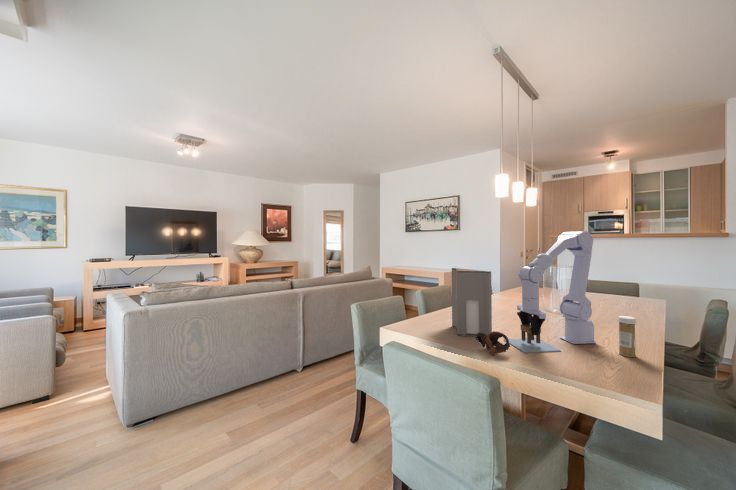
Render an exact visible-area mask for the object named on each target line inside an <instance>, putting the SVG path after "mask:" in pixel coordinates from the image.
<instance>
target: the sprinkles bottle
mask: <svg viewBox="0 0 736 490" xmlns="http://www.w3.org/2000/svg"><path fill="white" fill-rule="evenodd" d="M636 320H637V319H636V318H635V317H634V316H629V315H628V316H627V315H619V316H618V320H617V321H618V345H619V347H618V349H619V351H618V352H619V355H621V356H623V357H627V358H636V356H637V354H636V346H637V345H636V322H637V321H636Z"/></svg>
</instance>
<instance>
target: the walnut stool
mask: <svg viewBox="0 0 736 490" xmlns="http://www.w3.org/2000/svg"><path fill="white" fill-rule="evenodd" d="M520 331H521V339H522V340H523V341H526V338H527V343H528V344H531V340H534V338H536V343H540V340H541V333H542V328H540V331H539V335H532V330H531V323H530V324H525V325H522V324H520Z"/></svg>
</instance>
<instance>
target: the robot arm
mask: <svg viewBox="0 0 736 490" xmlns="http://www.w3.org/2000/svg"><path fill="white" fill-rule="evenodd" d="M593 244H594V237H593V236H592V234H591V232H589V231H588V230H583V231H564V232H562V233H561V234H560V235H558V237H557V241H555V243H554V244H553V245H552V246H551V247H550V248H549V249H548V250H547V251H546V252H545V253H539V254H537V255H536V257H535V258H534V259H533V260H532V261H531V262H529V263H528V265H527V266H523V267H521V268H520V269H519V273H518V278H519V279H520V284H521V290H522V291H521V299H522V300H521V302H522V304H517V305H516V308H517V309H516V310H517V311H518V312H516V315H517V316H518V317H519V320H520V323H521V325H525V324H531V330H532V335H534V336H536V335H539V331H540V328H541V327H542V325H543V324H544V322H545V321H546V317H547V315H546V314H547V313H546V312H544V311H542V310H541V309H540V282H541V281H542V280H543V277H544V274H545V273H546V272H547V270H548V269H550V267H552V265H554V259H555V258H557V257H558V256H559V255H561V254H562V253H563V252H564V251H566V250H568V251H569V252H570V253H572V255H573V256H574V258H573V264H572V269H571V270H572V271H571V278H570V284H569V292H568V293H567V294H566V295H564V296H563V297H562V300H561V302H560V305H559V312H560V313H561V315H562V317H563V318H564V336H559V338H560V339H562V340H564V341H566V342H568V343H570V344H573V345H580V344H581V345H582V344H583V345H584V344H586V345H587V344H596V343H597V341H595V325H594V323H593V321H592V320H591V319H590V318H591V317H592V314H593V310H592V301H590V299H589V298H588V297H586V292H587V286H588V281H589V280H588V279H589V273H590V267H591V260H592V254H593V253H592V252H593ZM541 329H542V328H541Z"/></svg>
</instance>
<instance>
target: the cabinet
mask: <svg viewBox="0 0 736 490" xmlns="http://www.w3.org/2000/svg"><path fill="white" fill-rule="evenodd" d="M492 303H493V302H492V270H491V271H490V270H479V269H468V268H459V267H451V327H452V328H454V329H456V334H457V335H456V336H457V337H458V336H459V337H461V336H462V337H475V338H476V336H477V334H478V333H484V334H486V335H488V334H489V333H490V332H493V330H492V329H493V326H492V325H493V323H492V318H493V317H492V316H493V315H492V314H493V312H492V311H493V310H492V309H493V307H492V305H493V304H492Z"/></svg>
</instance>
